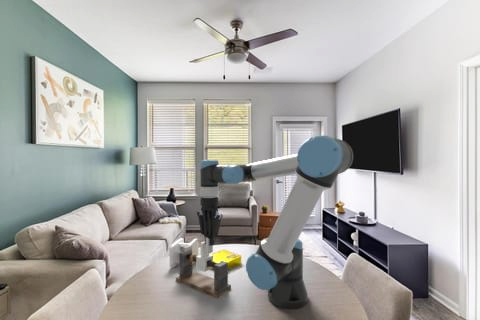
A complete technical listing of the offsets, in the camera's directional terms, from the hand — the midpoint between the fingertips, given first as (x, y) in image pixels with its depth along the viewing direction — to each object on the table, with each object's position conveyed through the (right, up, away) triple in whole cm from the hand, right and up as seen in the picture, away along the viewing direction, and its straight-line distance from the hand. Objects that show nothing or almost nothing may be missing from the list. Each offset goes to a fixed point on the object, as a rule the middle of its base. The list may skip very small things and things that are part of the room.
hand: (209, 252), depth 102 cm
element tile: (+4, -16, +24) cm, 29 cm away
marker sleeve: (-2, -7, +1) cm, 8 cm away
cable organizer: (-16, -15, +24) cm, 32 cm away
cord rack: (-3, -15, +2) cm, 15 cm away
